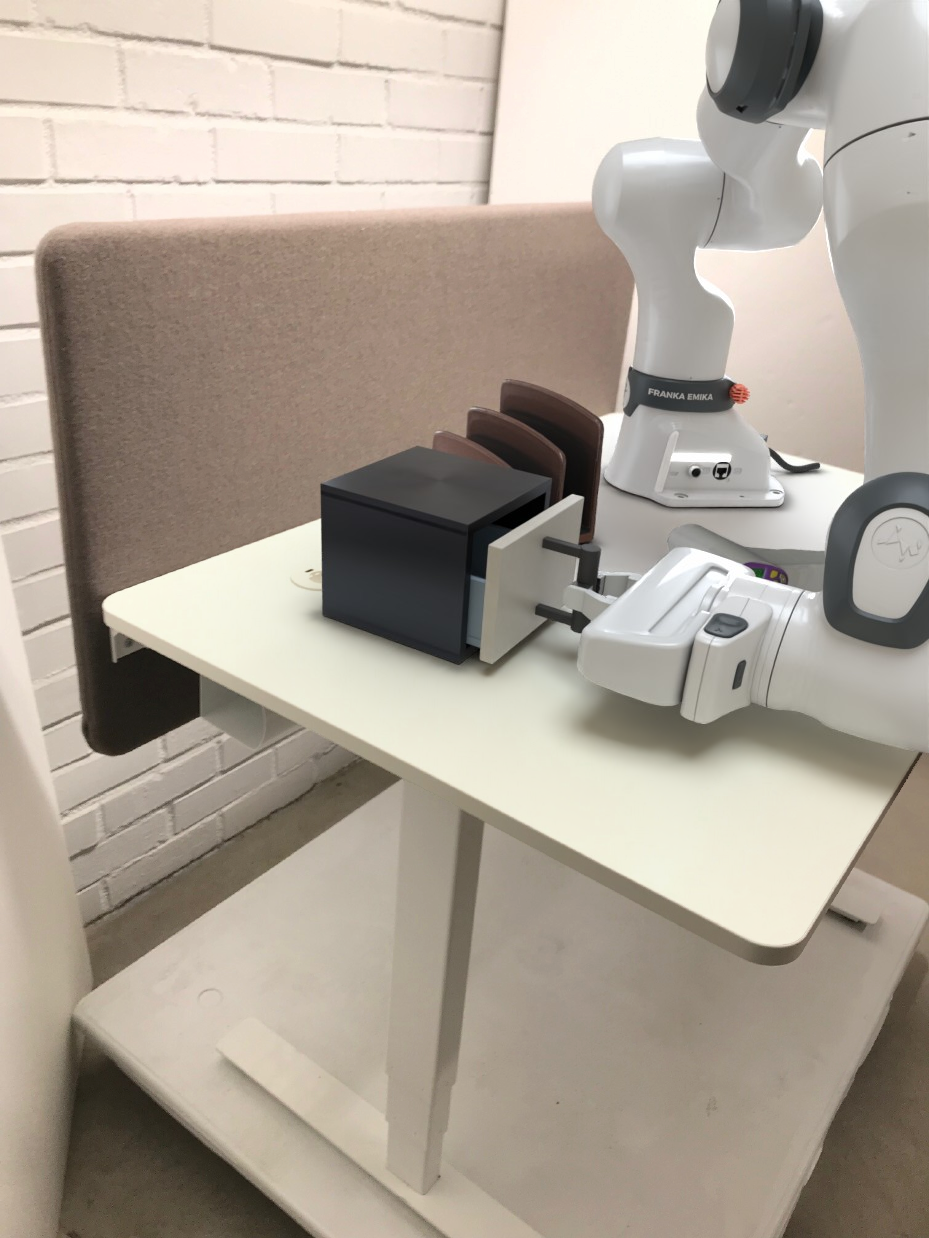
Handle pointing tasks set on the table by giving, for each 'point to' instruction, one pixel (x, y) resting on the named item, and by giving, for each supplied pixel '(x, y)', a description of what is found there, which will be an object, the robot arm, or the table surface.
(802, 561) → the infrared thermometer
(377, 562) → the cabinet
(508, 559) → the open pull-out drawer
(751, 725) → the table surface
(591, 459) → the letter holder
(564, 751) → the table surface
